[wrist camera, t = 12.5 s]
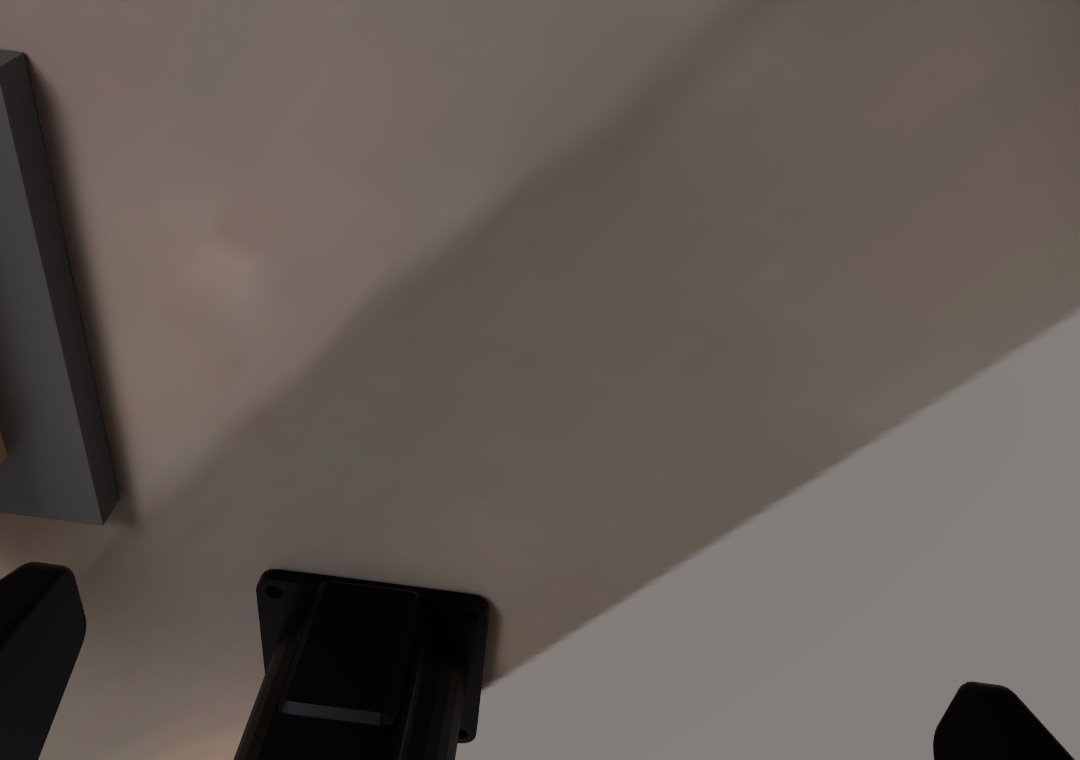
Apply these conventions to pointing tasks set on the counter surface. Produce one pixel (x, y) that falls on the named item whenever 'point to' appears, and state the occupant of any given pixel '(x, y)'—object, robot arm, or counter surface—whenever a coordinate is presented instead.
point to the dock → (42, 337)
